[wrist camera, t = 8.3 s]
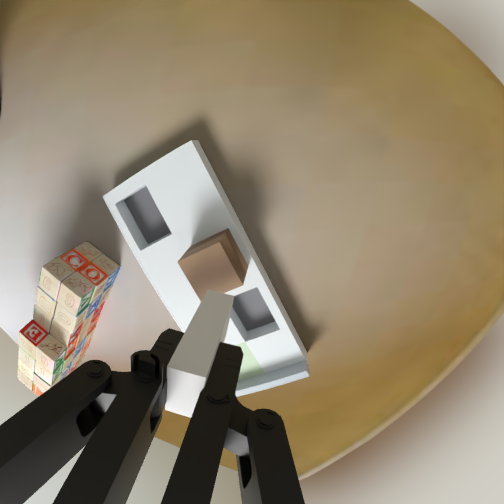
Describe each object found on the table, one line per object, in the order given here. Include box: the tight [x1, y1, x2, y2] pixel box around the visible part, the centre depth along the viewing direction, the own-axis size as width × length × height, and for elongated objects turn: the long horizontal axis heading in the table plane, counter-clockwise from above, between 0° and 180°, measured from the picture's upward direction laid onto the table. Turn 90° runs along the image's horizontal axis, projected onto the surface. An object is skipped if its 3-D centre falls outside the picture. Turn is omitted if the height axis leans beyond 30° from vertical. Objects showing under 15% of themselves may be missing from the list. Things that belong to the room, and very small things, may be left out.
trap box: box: [103, 140, 309, 397], centre depth 33 cm, size 29×12×4 cm, turn 26°
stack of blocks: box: [18, 241, 120, 396], centre depth 34 cm, size 21×6×12 cm, turn 146°
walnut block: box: [178, 228, 248, 301], centre depth 29 cm, size 4×4×4 cm
